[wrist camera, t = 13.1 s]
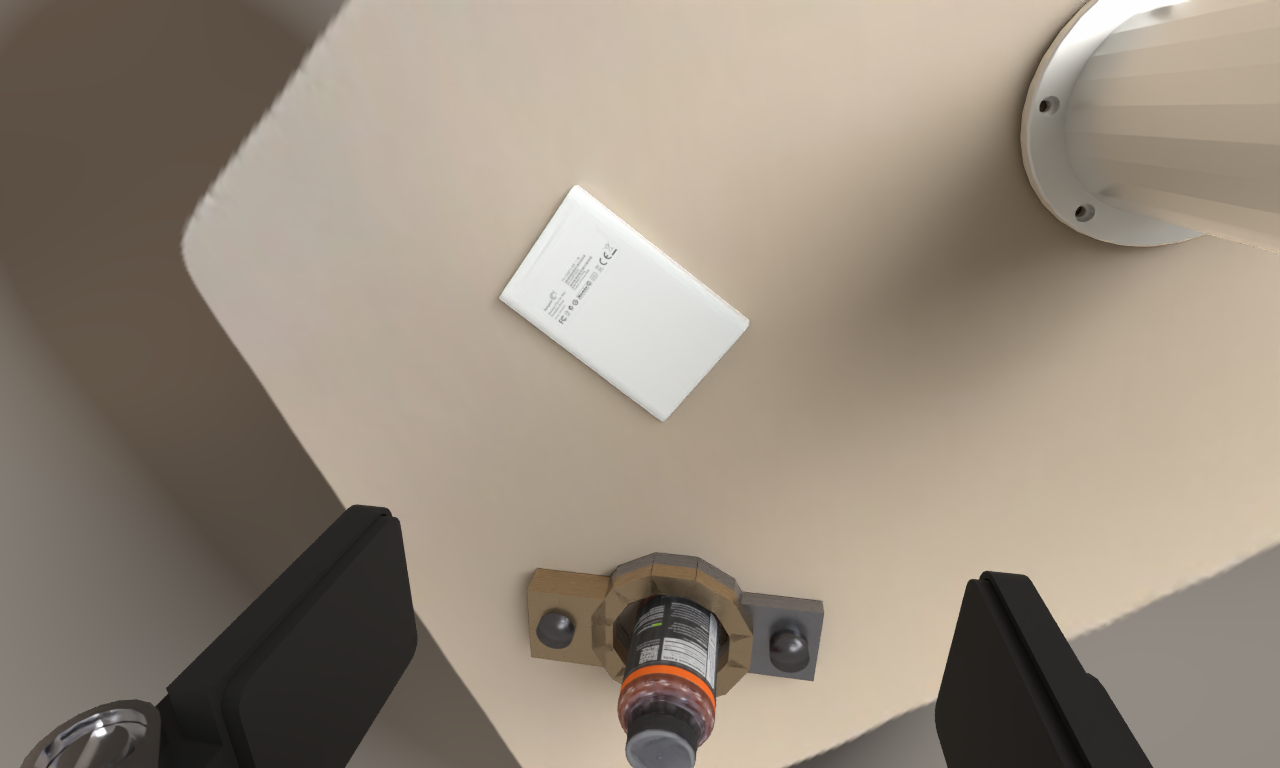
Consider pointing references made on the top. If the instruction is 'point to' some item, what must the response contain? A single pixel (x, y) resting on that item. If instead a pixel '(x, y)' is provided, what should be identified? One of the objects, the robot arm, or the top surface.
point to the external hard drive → (622, 305)
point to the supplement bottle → (669, 682)
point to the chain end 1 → (587, 611)
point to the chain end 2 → (757, 622)
